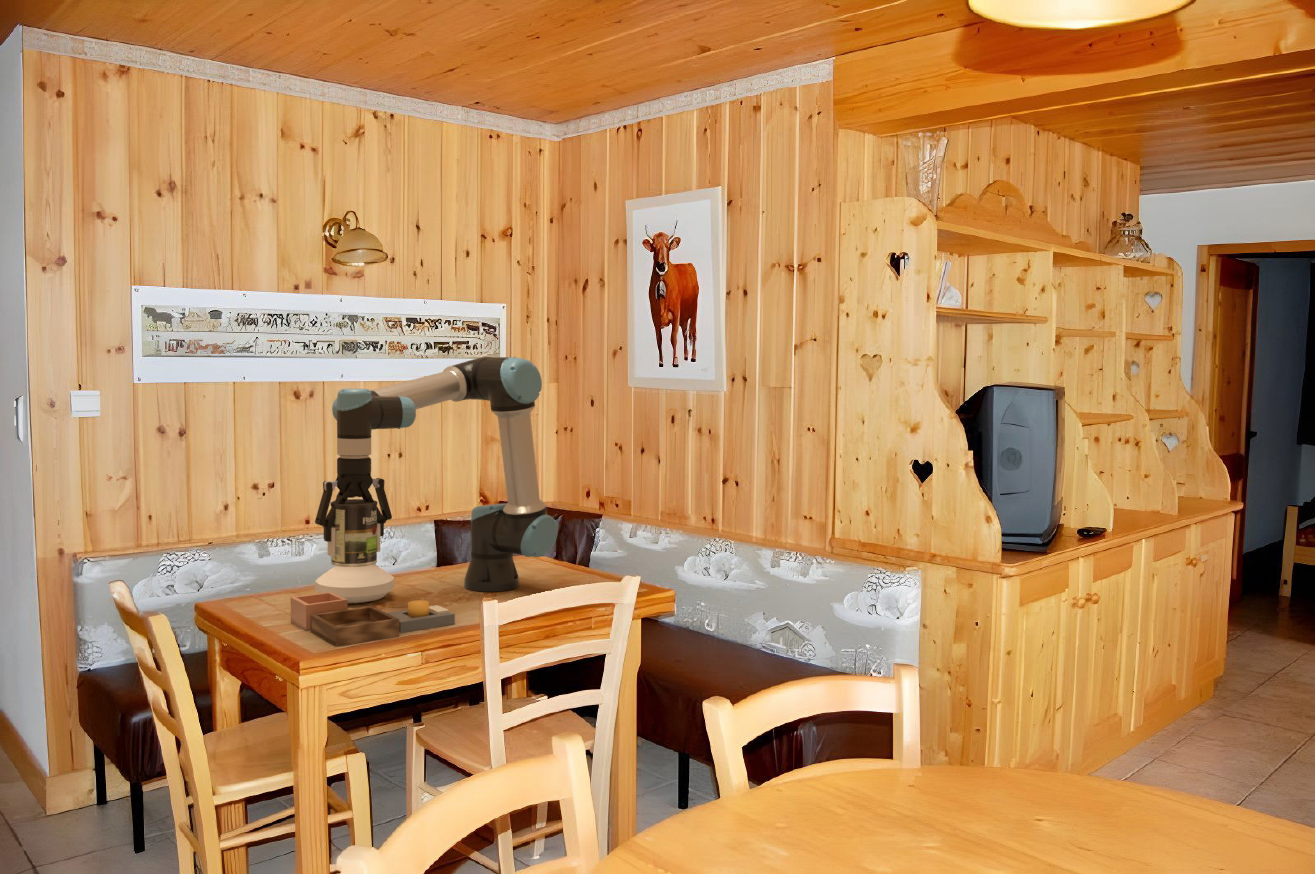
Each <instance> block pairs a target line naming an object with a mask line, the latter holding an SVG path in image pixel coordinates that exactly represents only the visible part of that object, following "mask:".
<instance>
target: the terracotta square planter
mask: <svg viewBox="0 0 1315 874" xmlns="http://www.w3.org/2000/svg"><path fill="white" fill-rule="evenodd" d="M341 610H348V603H347V599H345V598H343V597H341V596H339V595H337V594H335V593H333V592H326V593H318V592H317V593H312V594H303V595H299V596H291V597H290V622H291V623H292V624H294V625H295V626H297V627H298V628H301V629H302V630H304V631H307V632H308V631H311V619H310V615H313V614H320V613H327V612H334V611H341Z"/></svg>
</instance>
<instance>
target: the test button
mask: <svg viewBox="0 0 1315 874" xmlns="http://www.w3.org/2000/svg"><path fill="white" fill-rule="evenodd" d="M429 606H430V601H429V600H423V599H422V600H421V599H419V600H417V599H416V600H410V601H408V602H407V610H408V616H409V617H411V618H417V617H423V616H429Z"/></svg>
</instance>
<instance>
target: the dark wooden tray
mask: <svg viewBox="0 0 1315 874" xmlns="http://www.w3.org/2000/svg"><path fill="white" fill-rule="evenodd" d="M387 613H388V612H385V611H382V610H381V609H379V608H377V607H375V606H373V605H372V606H371V605H370V606H364V607H357V608H349V609H348V608H347V610H341V611H334V612H327V613H320V614H313V615H310V619H311V630H310V633H312V634H313V635H315V636H317V637H318V638H320V639H322V640H324V641H325V642H327V643H329V644H330V645H333V646H334V647H341V646H348V645H354V644H361V643H366V642H372V641H378V640H384V639H390V638H392V639H393V638H397V637H400V632H399V619H398V618H396V617H394V616H392V615H389V614H387Z"/></svg>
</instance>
